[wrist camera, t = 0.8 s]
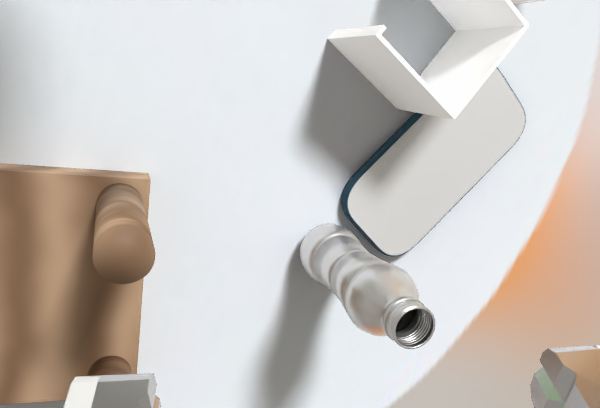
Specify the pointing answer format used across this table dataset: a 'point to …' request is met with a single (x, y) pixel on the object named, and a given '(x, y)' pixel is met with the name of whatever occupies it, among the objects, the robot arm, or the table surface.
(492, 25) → the storage container
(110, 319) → the stool
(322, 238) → the plastic bottle
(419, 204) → the external hard drive
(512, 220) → the table surface
